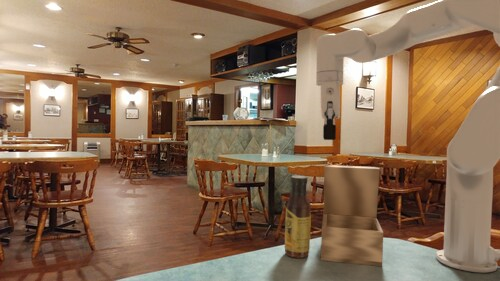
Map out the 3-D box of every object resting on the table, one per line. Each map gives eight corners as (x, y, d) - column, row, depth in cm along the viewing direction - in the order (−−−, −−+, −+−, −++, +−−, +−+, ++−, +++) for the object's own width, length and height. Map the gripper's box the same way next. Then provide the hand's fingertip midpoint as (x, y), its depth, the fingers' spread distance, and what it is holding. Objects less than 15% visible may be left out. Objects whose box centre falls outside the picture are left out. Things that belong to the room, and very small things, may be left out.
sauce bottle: (283, 249, 92) (285, 174, 92) (307, 250, 92) (309, 174, 91) (285, 259, 86) (287, 177, 85) (311, 260, 86) (313, 178, 85)
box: (375, 246, 96) (376, 217, 96) (382, 266, 82) (383, 232, 82) (322, 242, 99) (323, 213, 99) (320, 260, 86) (321, 227, 85)
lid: (376, 217, 96) (375, 215, 97) (379, 168, 92) (379, 167, 93) (323, 213, 99) (323, 211, 100) (324, 166, 95) (324, 165, 96)
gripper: (345, 74, 92) (344, 140, 92) (341, 83, 109) (340, 138, 109) (316, 75, 93) (315, 140, 94) (316, 83, 110) (316, 138, 111)
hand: (329, 139), depth 102 cm, fingers open, 9 cm apart
